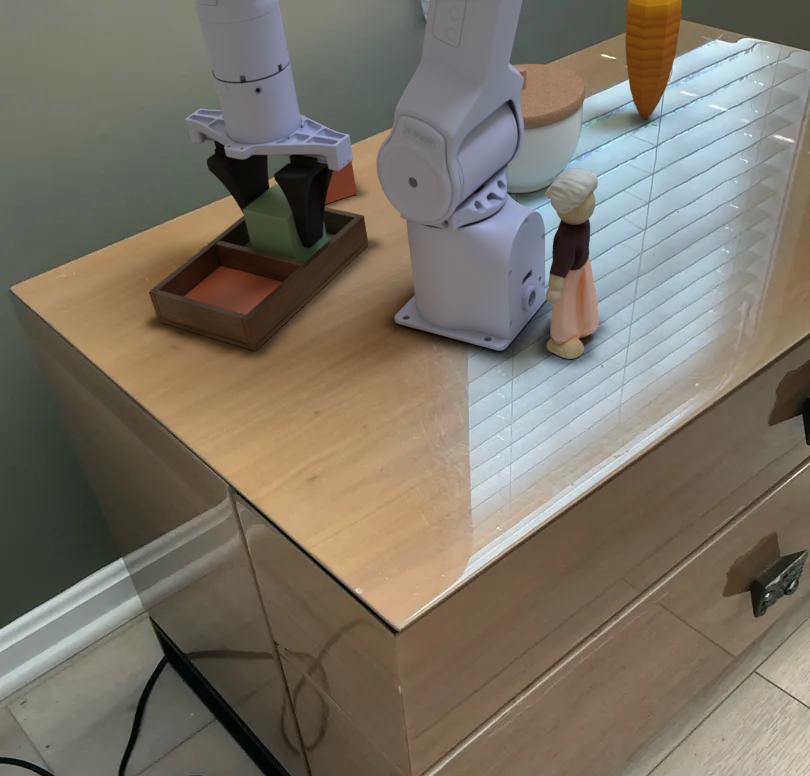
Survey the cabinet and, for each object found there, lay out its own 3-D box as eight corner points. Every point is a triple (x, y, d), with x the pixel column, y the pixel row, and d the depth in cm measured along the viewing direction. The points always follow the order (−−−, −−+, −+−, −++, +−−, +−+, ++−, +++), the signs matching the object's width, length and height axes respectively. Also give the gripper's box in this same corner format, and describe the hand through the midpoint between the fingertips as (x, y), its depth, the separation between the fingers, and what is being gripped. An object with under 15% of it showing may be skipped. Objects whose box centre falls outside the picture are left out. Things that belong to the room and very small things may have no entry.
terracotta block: (339, 174, 90) (331, 127, 87) (357, 194, 87) (349, 146, 84) (294, 188, 89) (285, 142, 86) (311, 208, 86) (302, 161, 83)
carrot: (609, 114, 92) (618, -61, 81) (656, 102, 93) (671, -73, 82) (633, 135, 89) (645, -45, 78) (681, 122, 89) (700, -58, 78)
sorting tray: (368, 245, 81) (364, 215, 79) (255, 351, 72) (247, 320, 70) (275, 223, 85) (269, 194, 83) (158, 321, 76) (147, 291, 74)
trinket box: (523, 219, 81) (521, 109, 74) (439, 182, 87) (429, 76, 80) (607, 170, 85) (613, 61, 78) (521, 137, 91) (519, 34, 84)
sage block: (328, 242, 80) (318, 192, 77) (297, 270, 78) (286, 219, 75) (285, 232, 82) (274, 183, 79) (254, 259, 80) (241, 209, 76)
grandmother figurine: (594, 368, 66) (602, 199, 57) (539, 366, 67) (538, 199, 58) (601, 305, 71) (610, 140, 62) (550, 304, 72) (551, 140, 63)
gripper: (141, 77, 70) (191, 242, 80) (299, 102, 64) (332, 278, 74) (202, 39, 74) (242, 202, 84) (356, 60, 68) (380, 233, 78)
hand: (288, 235), depth 79 cm, fingers closed on sage block, 4 cm apart
